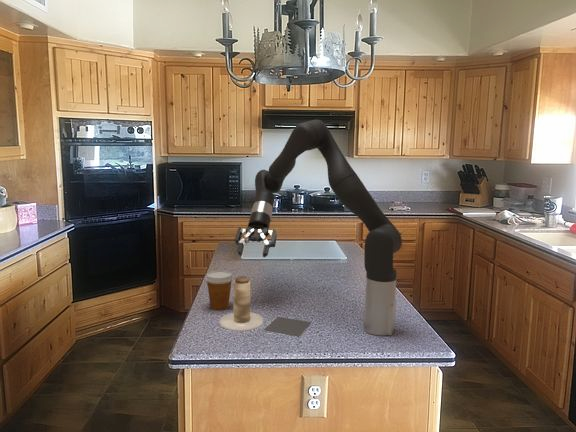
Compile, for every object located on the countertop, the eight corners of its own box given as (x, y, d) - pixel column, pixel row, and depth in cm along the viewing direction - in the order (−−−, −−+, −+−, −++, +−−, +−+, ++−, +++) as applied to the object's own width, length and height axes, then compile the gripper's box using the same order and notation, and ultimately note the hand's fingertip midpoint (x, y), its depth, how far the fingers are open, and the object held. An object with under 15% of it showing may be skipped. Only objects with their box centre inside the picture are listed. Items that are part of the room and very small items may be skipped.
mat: (311, 323, 153) (311, 322, 153) (299, 338, 142) (299, 336, 142) (278, 318, 157) (278, 316, 157) (263, 331, 146) (263, 330, 146)
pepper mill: (253, 318, 154) (253, 277, 151) (245, 324, 149) (245, 281, 146) (238, 315, 156) (238, 274, 153) (230, 321, 151) (230, 279, 148)
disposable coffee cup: (203, 303, 169) (202, 271, 167) (229, 300, 173) (229, 269, 170) (209, 313, 160) (208, 279, 158) (236, 309, 164) (236, 276, 162)
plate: (270, 319, 156) (270, 315, 156) (251, 335, 143) (251, 331, 143) (232, 312, 161) (232, 309, 161) (211, 327, 148) (211, 324, 148)
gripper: (239, 209, 168) (229, 248, 158) (278, 211, 165) (270, 250, 156) (244, 221, 174) (234, 259, 164) (281, 223, 171) (273, 262, 162)
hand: (251, 255), depth 160 cm, fingers open, 8 cm apart
